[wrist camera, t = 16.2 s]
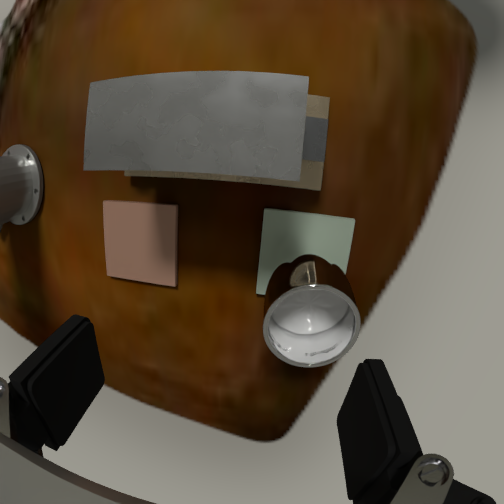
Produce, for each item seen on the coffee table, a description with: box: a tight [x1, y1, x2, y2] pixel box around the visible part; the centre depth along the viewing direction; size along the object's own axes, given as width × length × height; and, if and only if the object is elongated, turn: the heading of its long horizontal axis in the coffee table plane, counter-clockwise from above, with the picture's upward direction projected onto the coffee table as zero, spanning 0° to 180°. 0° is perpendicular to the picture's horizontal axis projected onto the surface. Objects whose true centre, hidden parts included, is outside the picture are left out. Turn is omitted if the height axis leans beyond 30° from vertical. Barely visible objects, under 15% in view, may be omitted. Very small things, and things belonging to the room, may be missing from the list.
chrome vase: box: [263, 231, 360, 367], centre depth 26 cm, size 7×7×15 cm
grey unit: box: [84, 71, 329, 191], centre depth 24 cm, size 22×10×14 cm, turn 85°
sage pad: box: [256, 208, 355, 295], centre depth 34 cm, size 10×10×1 cm
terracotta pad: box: [103, 200, 178, 287], centre depth 35 cm, size 10×10×1 cm
